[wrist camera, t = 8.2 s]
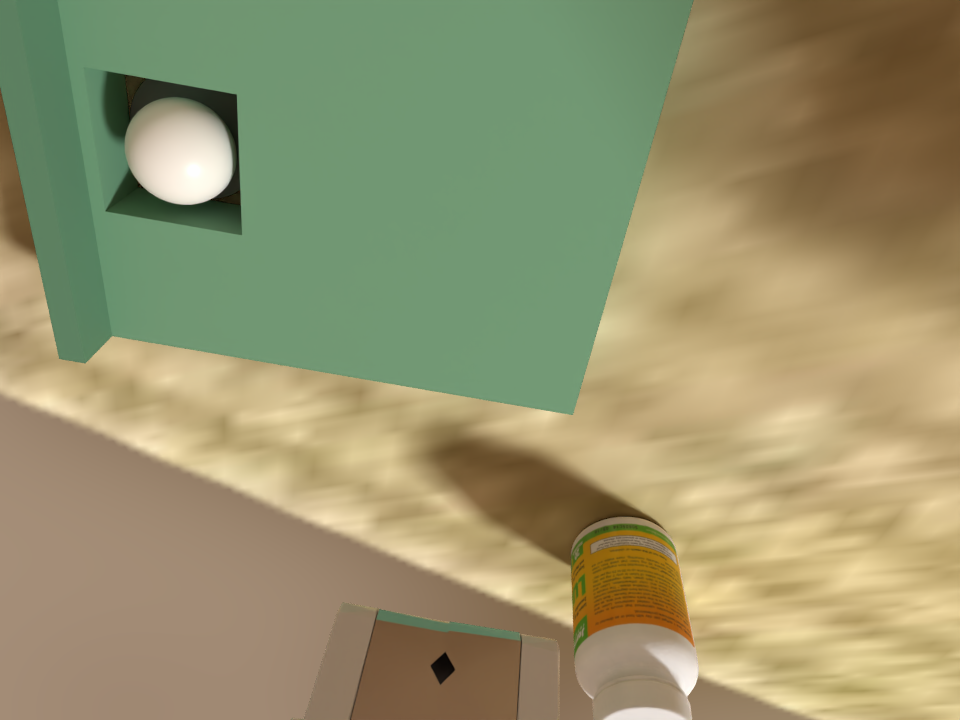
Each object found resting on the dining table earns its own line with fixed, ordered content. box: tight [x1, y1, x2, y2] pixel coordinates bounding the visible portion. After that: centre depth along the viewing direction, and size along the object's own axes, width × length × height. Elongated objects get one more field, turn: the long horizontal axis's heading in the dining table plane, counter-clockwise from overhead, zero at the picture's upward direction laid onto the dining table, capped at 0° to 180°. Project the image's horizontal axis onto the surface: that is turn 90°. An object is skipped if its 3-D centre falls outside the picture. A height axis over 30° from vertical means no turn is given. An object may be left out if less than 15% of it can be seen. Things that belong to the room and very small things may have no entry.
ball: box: [125, 97, 237, 205], centre depth 25 cm, size 4×4×4 cm
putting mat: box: [0, 0, 694, 415], centre depth 25 cm, size 20×16×4 cm
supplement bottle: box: [571, 517, 698, 720], centre depth 33 cm, size 5×5×10 cm
